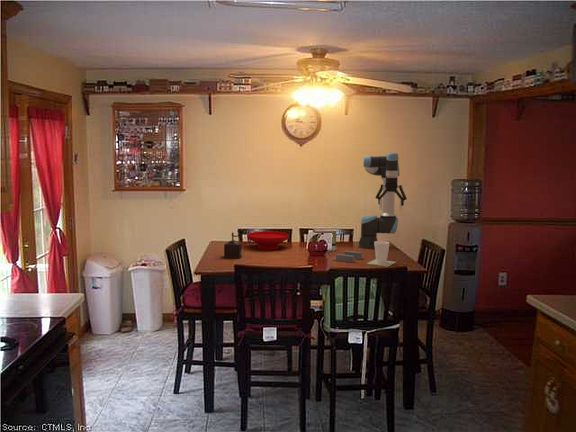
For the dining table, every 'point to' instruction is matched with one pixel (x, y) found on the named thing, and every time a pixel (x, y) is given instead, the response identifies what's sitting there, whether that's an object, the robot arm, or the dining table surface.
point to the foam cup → (381, 251)
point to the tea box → (328, 232)
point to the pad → (381, 264)
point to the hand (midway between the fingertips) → (390, 210)
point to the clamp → (348, 256)
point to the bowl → (268, 239)
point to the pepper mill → (233, 247)
